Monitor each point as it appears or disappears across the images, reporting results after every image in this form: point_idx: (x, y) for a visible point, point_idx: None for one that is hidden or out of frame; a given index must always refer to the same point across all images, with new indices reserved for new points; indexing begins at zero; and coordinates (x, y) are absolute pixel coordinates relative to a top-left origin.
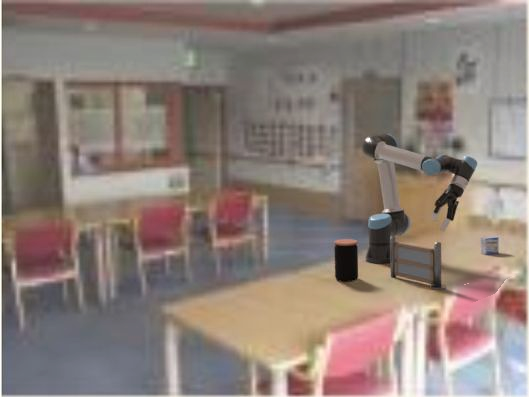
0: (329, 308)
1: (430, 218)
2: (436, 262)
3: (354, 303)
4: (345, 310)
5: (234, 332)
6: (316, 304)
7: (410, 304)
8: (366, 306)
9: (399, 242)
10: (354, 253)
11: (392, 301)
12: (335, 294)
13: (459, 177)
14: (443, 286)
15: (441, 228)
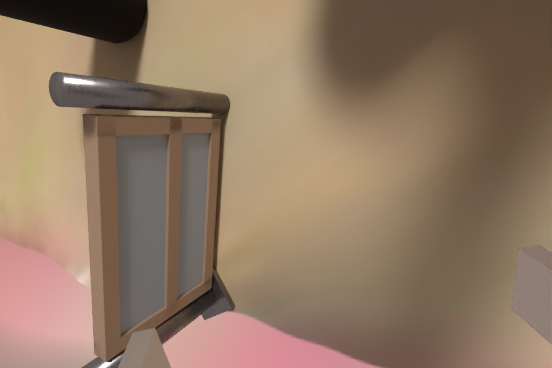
0: (14, 166)
1: (134, 343)
2: None
3: (46, 185)
4: (24, 197)
5: None
6: (9, 129)
7: None
8: (50, 216)
9: (95, 139)
10: (20, 18)
11: (88, 243)
12: (49, 107)
13: None
14: (212, 311)
15: (537, 283)
